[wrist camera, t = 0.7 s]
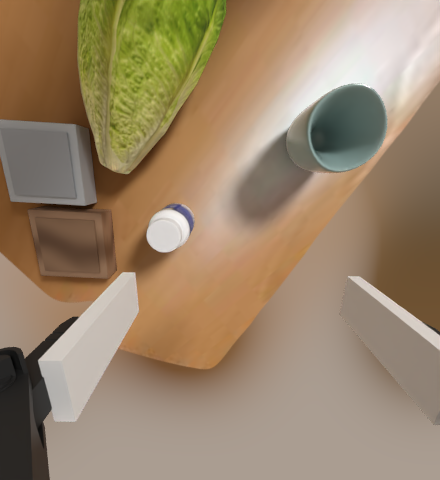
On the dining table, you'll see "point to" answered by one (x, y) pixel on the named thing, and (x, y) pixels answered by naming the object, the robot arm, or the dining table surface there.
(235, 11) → the dining table surface
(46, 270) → the stand
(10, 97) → the dining table surface
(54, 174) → the stand
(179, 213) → the pill bottle
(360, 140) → the cup
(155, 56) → the lettuce
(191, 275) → the dining table surface
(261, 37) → the dining table surface
